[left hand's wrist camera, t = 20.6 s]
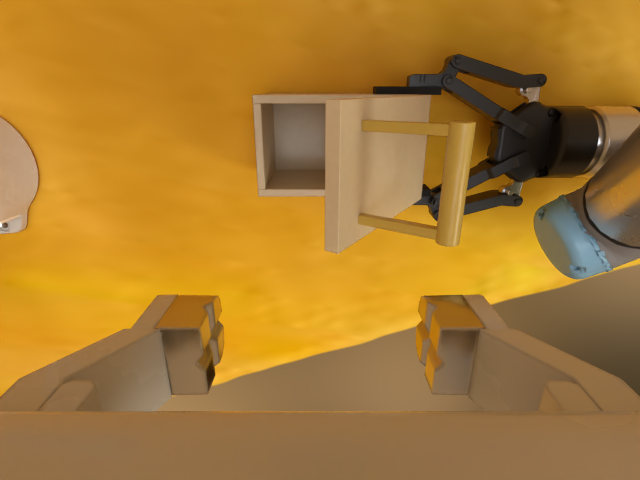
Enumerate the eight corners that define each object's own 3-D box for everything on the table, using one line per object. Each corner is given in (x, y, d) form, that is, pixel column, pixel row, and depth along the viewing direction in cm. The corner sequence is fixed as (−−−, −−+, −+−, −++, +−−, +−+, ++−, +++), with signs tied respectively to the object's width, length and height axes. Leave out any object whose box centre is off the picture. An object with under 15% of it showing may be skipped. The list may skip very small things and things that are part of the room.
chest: (270, 174, 51) (258, 196, 40) (267, 93, 47) (252, 94, 37) (395, 174, 51) (414, 196, 40) (401, 93, 47) (424, 94, 37)
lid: (324, 250, 27) (442, 279, 23) (325, 99, 23) (465, 102, 19) (410, 197, 40) (496, 210, 36) (419, 94, 36) (515, 96, 32)
